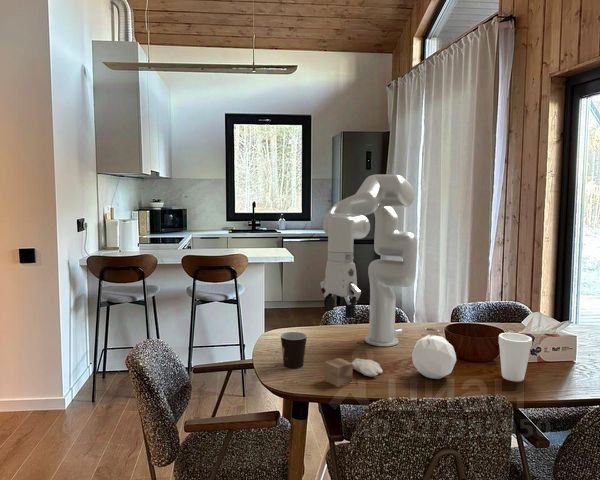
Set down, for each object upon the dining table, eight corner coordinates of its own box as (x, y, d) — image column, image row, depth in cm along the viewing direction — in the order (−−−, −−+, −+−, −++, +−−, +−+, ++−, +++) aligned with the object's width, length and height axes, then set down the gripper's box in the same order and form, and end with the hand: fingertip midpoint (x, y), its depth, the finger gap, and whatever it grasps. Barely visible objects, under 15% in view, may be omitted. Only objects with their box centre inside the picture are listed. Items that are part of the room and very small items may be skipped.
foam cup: (526, 385, 150) (529, 343, 148) (494, 379, 155) (496, 338, 153) (531, 375, 158) (533, 335, 156) (500, 369, 163) (502, 330, 161)
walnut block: (339, 376, 156) (339, 358, 155) (352, 382, 151) (352, 363, 150) (324, 380, 152) (324, 361, 151) (337, 387, 147) (337, 367, 147)
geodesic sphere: (450, 373, 143) (456, 329, 150) (403, 365, 149) (411, 323, 156) (455, 388, 154) (461, 346, 161) (411, 380, 161) (419, 340, 167)
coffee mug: (303, 370, 160) (304, 340, 159) (277, 368, 161) (277, 338, 160) (310, 358, 171) (310, 330, 170) (285, 356, 173) (286, 328, 172)
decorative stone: (381, 382, 153) (382, 369, 167) (384, 370, 152) (383, 358, 167) (347, 374, 154) (350, 362, 169) (349, 362, 154) (352, 351, 169)
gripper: (370, 260, 143) (368, 318, 145) (331, 253, 157) (330, 306, 159) (350, 261, 139) (349, 322, 140) (312, 254, 152) (311, 309, 154)
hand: (339, 313), depth 149 cm, fingers open, 9 cm apart
